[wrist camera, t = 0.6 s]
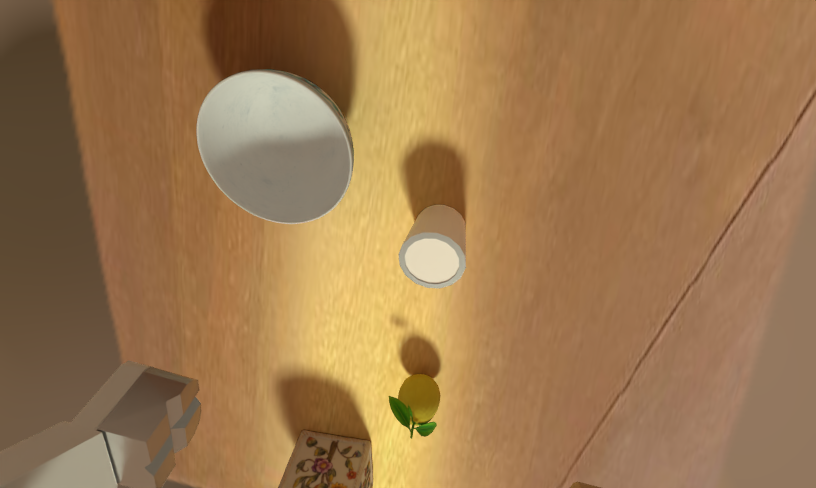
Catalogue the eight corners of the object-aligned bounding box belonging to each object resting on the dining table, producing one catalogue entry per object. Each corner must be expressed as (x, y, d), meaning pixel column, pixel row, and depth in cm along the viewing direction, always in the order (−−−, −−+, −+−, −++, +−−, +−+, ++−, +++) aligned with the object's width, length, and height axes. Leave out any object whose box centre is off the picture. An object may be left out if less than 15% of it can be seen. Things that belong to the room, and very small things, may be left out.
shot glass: (430, 188, 55) (419, 220, 49) (483, 220, 56) (479, 255, 50) (399, 232, 59) (386, 267, 53) (450, 262, 60) (443, 299, 54)
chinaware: (372, 57, 49) (349, 79, 42) (372, 197, 57) (353, 233, 51) (224, 44, 51) (181, 63, 44) (244, 181, 59) (211, 214, 52)
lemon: (399, 357, 70) (383, 417, 61) (442, 360, 68) (431, 422, 60) (403, 391, 73) (388, 452, 65) (444, 395, 72) (434, 457, 64)
